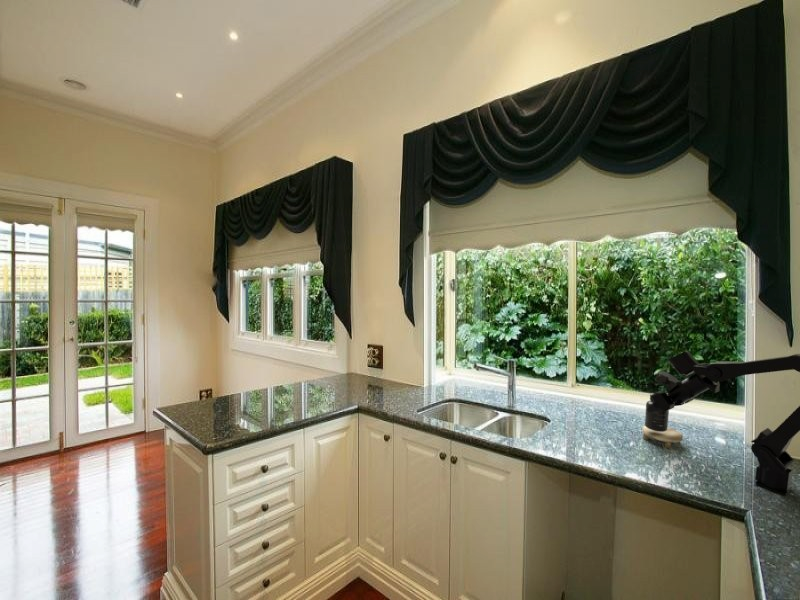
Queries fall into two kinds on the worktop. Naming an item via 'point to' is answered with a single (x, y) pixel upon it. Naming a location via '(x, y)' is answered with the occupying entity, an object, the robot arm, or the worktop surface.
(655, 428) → the supplement bottle
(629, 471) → the worktop surface
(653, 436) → the stool
